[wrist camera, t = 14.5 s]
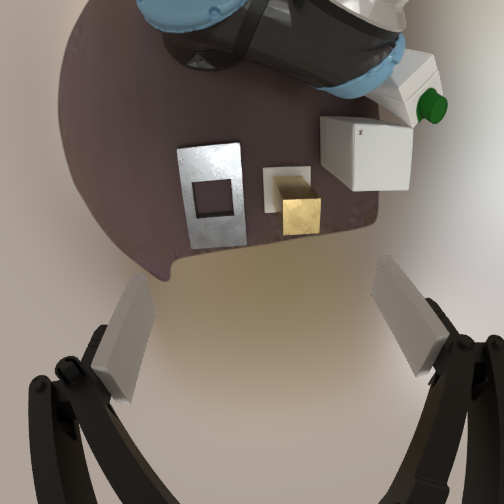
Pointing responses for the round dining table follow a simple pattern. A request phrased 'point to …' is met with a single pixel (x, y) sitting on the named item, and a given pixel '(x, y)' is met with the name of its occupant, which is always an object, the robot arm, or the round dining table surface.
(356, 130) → the supplement box
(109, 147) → the round dining table surface
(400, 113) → the milk carton
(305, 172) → the mat
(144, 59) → the round dining table surface
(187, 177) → the grey metal slotted plate
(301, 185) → the gold metal column
